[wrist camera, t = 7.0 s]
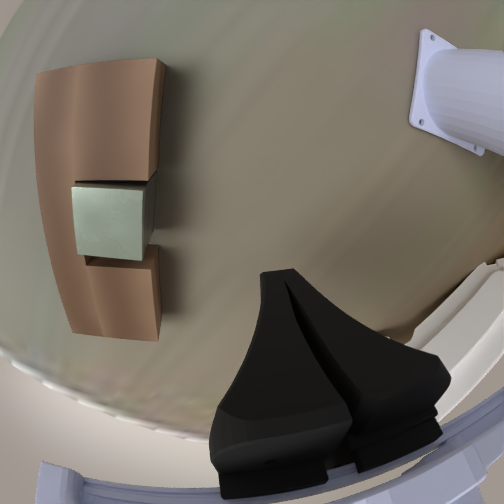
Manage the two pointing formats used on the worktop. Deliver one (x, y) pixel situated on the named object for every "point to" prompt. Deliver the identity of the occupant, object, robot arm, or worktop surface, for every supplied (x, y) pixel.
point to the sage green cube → (114, 217)
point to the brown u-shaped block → (99, 168)
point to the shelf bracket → (466, 332)
